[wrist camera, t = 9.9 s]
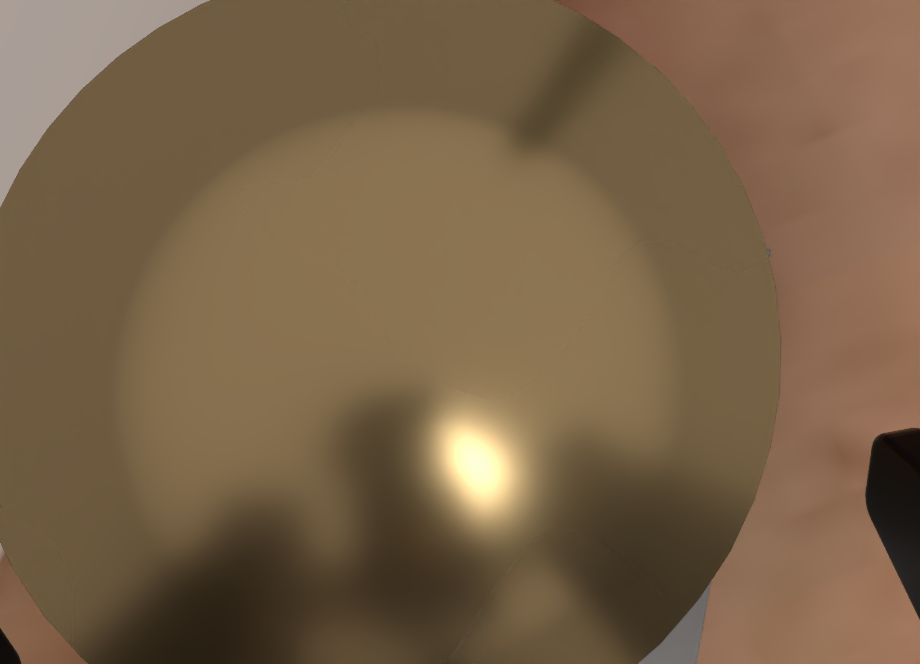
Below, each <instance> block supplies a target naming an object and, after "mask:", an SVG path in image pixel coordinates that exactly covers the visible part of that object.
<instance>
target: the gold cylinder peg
mask: <svg viewBox="0 0 920 664" xmlns="http://www.w3.org/2000/svg"><path fill="white" fill-rule="evenodd" d="M780 362H781V333H780V324H779V315H778V305H777V296H776V287H775V283H774V278H773V274H772V270H771V266H770V262H769V258H768V254H767V250H766V246H765V242H764V238H763V235H762V232H761V230H760V227H759V224H758V222H757V219H756V217H755V214H754V212H753V209H752V207H751V204H750V201H749V199H748V196H747V194H746V191H745V189H744V187H743V185H742V183H741V181H740V180H739V178H738V176H737V174H736V172H735V171H734V169H733V167H732V165H731V163H730V161H729V160H728V158H727V156H726V154H725V152H724V151H723V149H722V147H721V145H720V144H719V142H718V141H717V140H716V138H715V137H714V135H713V134H712V133H711V131H710V130H709V129H708V127H707V126H706V125H705V123H704V122H703V120H702V119H701V118H700V116H699V115H698V114H697V112H696V111H695V110H694V108H693V107H692V106H691V104H690V103H689V102H688V101H687V100H686V99H685V98H684V97H683V96H682V95H681V94H680V93H679V92H678V91H677V89H676V88H675V87H674V86H673V85H672V84H671V83H670V82H669V81H668V80H667V79H666V78H665V77H664V76H663V75H662V74H661V73H660V72H659V71H658V70H657V69H656V68H655V67H654V66H653V65H652V64H650V63H649V62H648V61H647V60H645V59H644V58H643V57H642V56H641V55H639V54H638V53H637V52H636V51H634V50H633V49H632V48H631V47H629V46H628V45H627V44H626V43H625V42H623V41H622V40H621V39H620V38H618V37H617V36H615V35H614V34H612V33H610V32H609V31H607V30H606V29H604V28H602V27H601V26H599V25H598V24H596V23H594V22H593V21H591V20H590V19H588V18H586V17H585V16H583V15H582V14H580V13H578V12H577V11H575V10H573V9H570V8H568V7H566V6H564V5H562V4H560V3H557V2H555V1H553V0H210V1H208V2H205V3H203V4H201V5H199V6H197V7H195V8H193V9H192V10H190V11H188V12H186V13H184V14H183V15H181V16H179V17H177V18H176V19H174V20H172V21H170V22H168V23H167V24H165V25H163V26H161V27H159V28H158V29H156V30H155V31H153V32H152V33H150V34H149V35H148V36H146V37H145V38H143V39H142V40H141V41H139V42H138V43H137V44H135V45H134V46H132V47H131V48H129V49H128V50H127V51H126V52H124V53H122V54H121V55H120V56H119V57H117V58H116V59H115V60H114V61H113V62H112V63H110V64H109V65H108V66H107V67H106V68H105V69H104V70H103V71H102V72H100V73H99V75H97V76H96V77H95V78H94V79H93V80H92V81H91V82H89V84H87V85H86V86H85V87H84V88H83V89H82V90H81V91H80V92H79V93H78V94H77V95H76V97H75V98H74V99H73V100H72V101H71V102H70V103H69V105H68V106H67V107H66V108H65V109H64V110H63V112H62V113H61V114H60V115H59V116H58V117H57V118H56V120H55V121H54V122H53V123H52V124H51V125H50V126H49V128H48V129H47V131H46V132H45V133H44V135H43V136H42V138H41V139H40V141H39V142H38V144H37V145H36V147H35V148H34V150H33V151H32V153H31V154H30V156H29V157H28V159H27V160H26V161H25V163H24V164H23V166H22V167H21V169H20V170H19V173H18V174H17V176H16V178H15V180H14V182H13V184H12V186H11V188H10V190H9V192H8V194H7V196H6V198H5V200H4V202H3V204H2V206H1V207H0V543H1V545H2V547H3V549H4V551H5V553H6V555H7V557H8V560H9V562H10V564H11V566H12V568H13V570H14V571H15V573H16V574H17V576H18V577H19V579H20V580H21V582H22V583H23V585H24V586H25V588H26V589H27V591H28V592H29V594H30V595H31V597H32V598H33V600H34V601H35V603H36V604H37V606H38V607H39V609H40V610H41V612H42V613H43V615H44V616H45V617H46V618H47V620H48V621H49V622H50V623H51V624H52V625H53V626H54V627H55V629H56V630H57V631H58V632H59V633H60V634H61V635H62V636H63V637H64V639H65V640H66V641H67V642H68V643H69V644H70V645H71V646H72V647H73V649H74V650H75V651H76V652H77V653H78V654H79V655H80V656H81V657H82V658H83V659H84V660H85V661H86V662H88V663H89V664H638V663H639V662H640V661H642V660H643V659H644V658H645V657H646V656H647V655H648V654H650V653H651V652H652V651H653V650H654V649H655V648H656V647H658V646H659V645H660V644H661V643H662V642H663V641H664V640H665V638H666V637H667V636H668V635H669V634H670V633H671V631H672V630H673V629H674V628H675V627H676V626H677V624H678V623H679V622H680V621H681V620H682V619H683V617H684V616H685V615H686V614H687V613H688V612H689V611H690V609H691V608H692V607H693V606H694V605H695V604H696V602H697V601H698V600H699V599H700V597H701V596H702V594H703V593H704V591H705V590H706V588H707V586H708V585H709V583H710V582H711V580H712V579H713V577H714V576H715V574H716V573H717V571H718V569H719V568H720V566H721V565H722V563H723V562H724V560H725V559H726V557H727V556H728V554H729V552H730V551H731V549H732V547H733V544H734V542H735V540H736V538H737V536H738V534H739V532H740V529H741V527H742V525H743V523H744V521H745V519H746V517H747V514H748V512H749V510H750V508H751V506H752V504H753V502H754V499H755V496H756V493H757V490H758V486H759V483H760V480H761V477H762V473H763V470H764V467H765V464H766V460H767V457H768V454H769V451H770V448H771V442H772V436H773V430H774V424H775V418H776V412H777V406H778V400H779V394H780Z"/></svg>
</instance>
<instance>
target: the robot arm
mask: <svg viewBox="0 0 920 664" xmlns="http://www.w3.org/2000/svg"><path fill="white" fill-rule="evenodd" d="M865 497H866V505H867V509H868V512H869V515H870V518H871V520H872V522H873V524H874V526H875V528H876V530H877V532H878V534H879V537H880V539H881V541H882V543H883V545H884V547H885V549H886V551H887V553H888V555H889V557H890V559H891V561H892V563H893V566H894V568H895V570H896V572H897V574H898V576H899V578H900V580H901V582H902V584H903V586H904V588H905V590H906V592H907V594H908V597H909V599H910V601H911V603H912V605H913V607H914V609H915V611H916V613H917V615H918V617H919V619H920V429H919V428H909V429H904V430H898V431H893V432H888V433H883V434H880V435H878V436H877V437H876V438H875V440H874V442H873V445H872V449H871V456H870V464H869V471H868V478H867V485H866V494H865ZM0 664H21V661H20V658H19V656H18V654H17V652H16V650H15V649H14V648H13V646H12V645H11V643H10V642H9V640H8V639H7V637H6V636H5V634H4V633H3V631H2V630H1V628H0Z"/></svg>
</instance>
